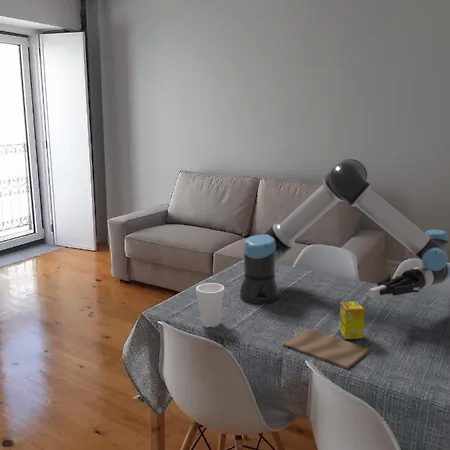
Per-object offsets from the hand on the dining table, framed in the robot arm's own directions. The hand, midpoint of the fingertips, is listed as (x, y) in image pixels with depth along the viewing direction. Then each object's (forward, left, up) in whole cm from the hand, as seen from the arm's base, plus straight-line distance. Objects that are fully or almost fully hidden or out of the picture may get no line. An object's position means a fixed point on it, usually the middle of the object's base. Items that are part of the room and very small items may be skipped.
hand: (371, 293), depth 164 cm
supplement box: (-2, -8, -13) cm, 16 cm away
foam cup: (-43, -30, -13) cm, 54 cm away
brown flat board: (-4, -20, -13) cm, 24 cm away
